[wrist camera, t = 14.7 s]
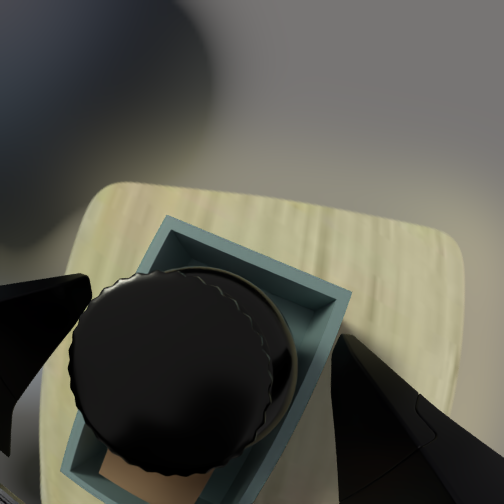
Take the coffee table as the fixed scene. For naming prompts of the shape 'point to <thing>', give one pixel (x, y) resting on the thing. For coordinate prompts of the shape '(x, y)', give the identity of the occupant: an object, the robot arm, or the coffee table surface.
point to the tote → (306, 340)
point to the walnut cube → (153, 482)
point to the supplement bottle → (182, 368)
